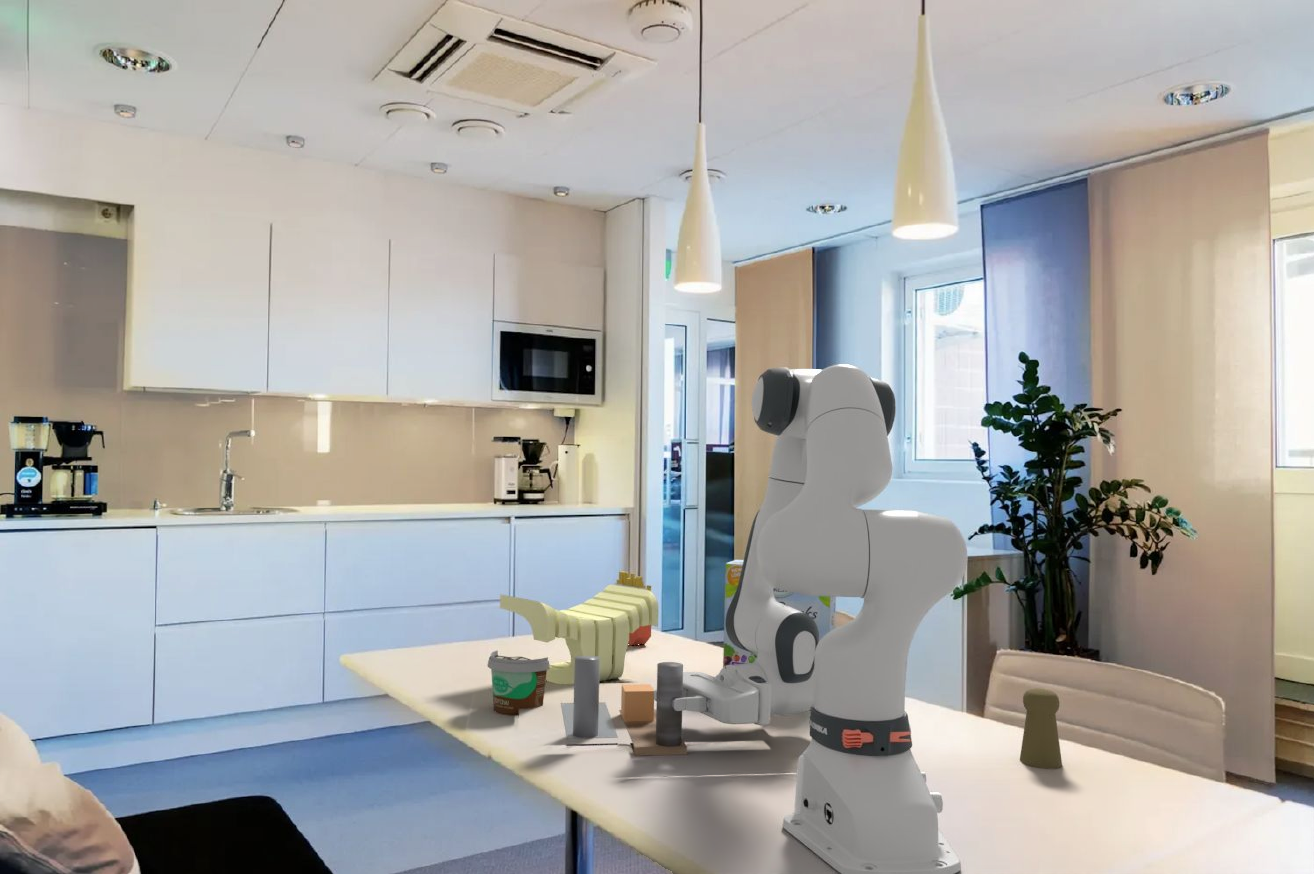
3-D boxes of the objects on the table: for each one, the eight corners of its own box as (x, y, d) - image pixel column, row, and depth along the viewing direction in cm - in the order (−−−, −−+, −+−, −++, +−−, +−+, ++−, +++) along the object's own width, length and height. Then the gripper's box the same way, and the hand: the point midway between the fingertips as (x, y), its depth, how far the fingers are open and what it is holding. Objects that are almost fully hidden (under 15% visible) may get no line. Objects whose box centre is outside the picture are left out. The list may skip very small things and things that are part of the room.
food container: (471, 712, 160) (473, 655, 161) (493, 704, 166) (494, 649, 166) (528, 722, 155) (529, 663, 155) (548, 714, 160) (550, 657, 160)
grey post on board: (686, 754, 138) (688, 667, 138) (634, 755, 137) (636, 667, 137) (664, 716, 160) (665, 640, 160) (619, 716, 158) (621, 641, 159)
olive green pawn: (1066, 770, 135) (1066, 695, 135) (1023, 766, 136) (1024, 693, 137) (1057, 758, 141) (1057, 686, 141) (1016, 754, 142) (1016, 684, 143)
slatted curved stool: (545, 696, 173) (548, 603, 173) (497, 682, 184) (500, 594, 185) (656, 674, 194) (658, 591, 195) (607, 662, 205) (609, 584, 206)
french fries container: (628, 639, 236) (629, 570, 236) (652, 646, 227) (653, 574, 227) (613, 640, 233) (615, 570, 234) (637, 647, 224) (638, 574, 225)
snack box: (720, 691, 180) (722, 562, 181) (731, 682, 188) (733, 558, 190) (829, 702, 173) (831, 567, 174) (835, 692, 181) (837, 564, 183)
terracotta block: (653, 721, 152) (654, 691, 152) (624, 721, 151) (624, 691, 151) (649, 713, 157) (650, 684, 157) (621, 713, 156) (621, 684, 156)
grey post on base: (617, 744, 142) (619, 660, 142) (566, 745, 141) (569, 660, 141) (605, 708, 164) (606, 635, 164) (560, 709, 162) (562, 635, 163)
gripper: (705, 660, 155) (634, 666, 149) (776, 685, 137) (698, 694, 131) (705, 697, 155) (633, 705, 148) (775, 727, 137) (697, 738, 130)
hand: (664, 700), depth 139 cm, fingers closed on grey post on board, 4 cm apart
